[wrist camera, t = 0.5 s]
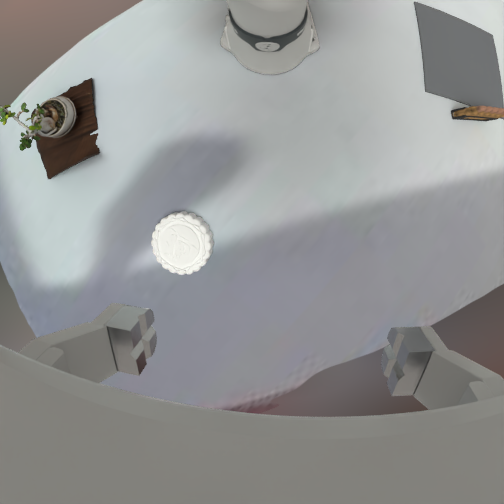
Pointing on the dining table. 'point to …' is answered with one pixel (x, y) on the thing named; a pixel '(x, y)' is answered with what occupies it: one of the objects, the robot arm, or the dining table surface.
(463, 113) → the ammunition clip
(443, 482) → the robot arm
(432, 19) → the slate mat
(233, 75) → the dining table surface
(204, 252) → the mooncake
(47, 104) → the potted plant
